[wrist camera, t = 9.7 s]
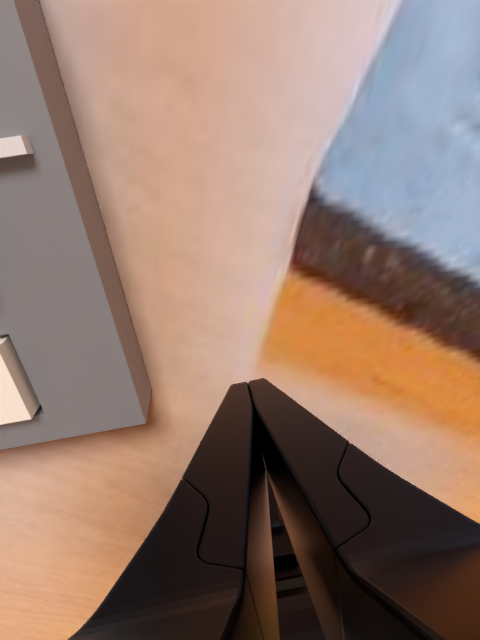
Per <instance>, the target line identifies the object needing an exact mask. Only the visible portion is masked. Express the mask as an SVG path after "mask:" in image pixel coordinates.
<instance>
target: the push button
mask: <svg viewBox="0 0 480 640" xmlns="http://www.w3.org/2000/svg"><path fill="white" fill-rule="evenodd" d="M39 406H40V402H39V400H38V398H37V395H36V393H35V391H34V389H33V387H32V384H31V382H30V380H29V378H28V376H27V373H26V371H25V369H24V367H23V365H22V362H21V360H20V358H19V356H18V354H17V351H16V349H15V347H14V345H13V343H12V340H11V338H10V336H9V334H5V335H0V425H2V424H7V423H13V422H19V421H24V420H30V419H32V418H33V416H34V414H35V413H36V411H37V409H38V408H39Z"/></svg>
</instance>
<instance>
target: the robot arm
mask: <svg viewBox="0 0 480 640" xmlns="http://www.w3.org/2000/svg"><path fill="white" fill-rule="evenodd" d="M248 385H249V386H248ZM262 453H263V454H262ZM263 458H264V459H263ZM264 463H265V464H264ZM265 467H266V468H265ZM68 640H480V524H479V523H477V522H475V521H473V520H472V519H470V518H468V517H466V516H465V515H463V514H461V513H460V512H458V511H456V510H455V509H453V508H451V507H450V506H448V505H446V504H445V503H443V502H441V501H439V500H438V499H436V498H434V497H433V496H431V495H429V494H428V493H426V492H424V491H423V490H421V489H419V488H418V487H416V486H414V485H412V484H411V483H409V482H407V481H406V480H404V479H403V478H401V477H399V476H398V475H396V474H395V473H393V472H391V471H390V470H388V469H387V468H385V467H383V466H382V465H381V464H379V463H378V462H376V461H375V460H373V459H372V458H371V457H369V456H368V455H366V454H365V453H364V452H362V451H361V450H360V449H358V448H357V447H356V446H354V445H353V444H350V443H349V441H347V440H346V439H345V438H343V437H342V436H341V435H339V434H338V433H337V432H335V431H334V430H333V429H331V428H330V427H329V426H327V425H326V424H325V423H323V422H322V421H321V420H319V419H318V418H317V417H315V416H314V415H313V414H311V413H310V412H309V411H307V410H306V409H305V408H303V407H302V406H301V405H299V404H298V403H297V402H295V401H294V400H293V399H292V398H290V397H289V396H288V395H286V394H285V393H284V392H282V391H281V390H280V389H278V388H277V387H276V386H274V385H273V384H272V383H270V382H269V381H268V380H266V379H264V378H261V379H257V380H252V381H249V383H247V382H242V383H237V384H233V385H231V386H230V388H229V390H228V392H227V394H226V395H225V397H224V399H223V401H222V403H221V405H220V407H219V409H218V411H217V412H216V414H215V416H214V418H213V420H212V422H211V424H210V426H209V428H208V430H207V431H206V433H205V435H204V437H203V439H202V441H201V443H200V445H199V447H198V448H197V450H196V452H195V454H194V456H193V458H192V460H191V462H190V464H189V466H188V467H187V469H186V471H185V473H184V475H183V477H182V480H180V482H179V484H178V486H177V488H176V490H175V492H174V494H173V495H172V497H171V499H170V501H169V502H168V504H167V506H166V508H165V509H164V511H163V513H162V515H161V516H160V518H159V519H158V521H157V522H156V524H155V525H154V527H153V528H152V530H151V532H150V533H149V535H148V536H147V538H146V539H145V541H144V542H143V544H142V545H141V546H140V548H139V549H138V551H137V552H136V554H135V555H134V557H133V558H132V560H131V561H130V563H129V564H128V565H127V567H126V568H125V570H124V571H123V573H122V574H121V576H120V577H119V579H118V580H117V582H116V583H115V584H114V586H113V587H112V589H111V590H110V592H109V593H108V595H107V596H106V598H105V599H104V600H103V602H102V603H101V605H100V606H99V607H98V609H97V610H96V611H95V612H94V614H93V615H92V616H91V617H90V618H89V620H88V621H87V622H86V623H85V624H84V625H83V626H82V627H81V628H80V629H79V630H78V631H77V632H76V633H75V634H74V635H72V636H71V637H70V638H69V639H68Z"/></svg>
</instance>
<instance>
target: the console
mask: <svg viewBox="0 0 480 640" xmlns="http://www.w3.org/2000/svg"><path fill="white" fill-rule="evenodd" d="M5 334H9V336H10V338H11V340H12V343H13V345H14V347H15V349H16V351H17V354H18V356H19V358H20V360H21V362H22V365H23V367H24V369H25V371H26V373H27V376H28V378H29V380H30V382H31V384H32V387H33V389H34V391H35V393H36V395H37V398H38V400H39V402H40V406H39V408H38V409H37V411H36V413H35V414H34V416H33V418H32V419H30V420H24V421H19V422H13V423H7V424H2V425H0V450H2V449H8V448H13V447H19V446H25V445H30V444H36V443H41V442H47V441H52V440H58V439H63V438H69V437H74V436H80V435H86V434H91V433H97V432H102V431H108V430H113V429H119V428H124V427H130V426H136V425H141V424H146V421H147V415H148V410H149V404H150V399H151V393H152V389H151V385H150V382H149V378H148V375H147V372H146V368H145V365H144V361H143V358H142V354H141V351H140V347H139V344H138V340H137V337H136V334H135V330H134V327H133V323H132V320H131V316H130V313H129V309H128V306H127V303H126V299H125V296H124V292H123V289H122V285H121V282H120V278H119V275H118V271H117V268H116V265H115V261H114V258H113V254H112V251H111V247H110V244H109V240H108V237H107V234H106V230H105V227H104V223H103V220H102V216H101V213H100V209H99V206H98V202H97V199H96V196H95V192H94V189H93V185H92V182H91V178H90V175H89V171H88V168H87V165H86V161H85V158H84V154H83V151H82V147H81V144H80V140H79V137H78V133H77V130H76V127H75V123H74V120H73V116H72V113H71V109H70V106H69V102H68V99H67V96H66V92H65V89H64V85H63V82H62V78H61V75H60V71H59V68H58V64H57V61H56V58H55V54H54V51H53V47H52V44H51V40H50V37H49V33H48V30H47V27H46V23H45V20H44V16H43V13H42V9H41V6H40V2H39V0H0V335H5Z"/></svg>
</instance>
